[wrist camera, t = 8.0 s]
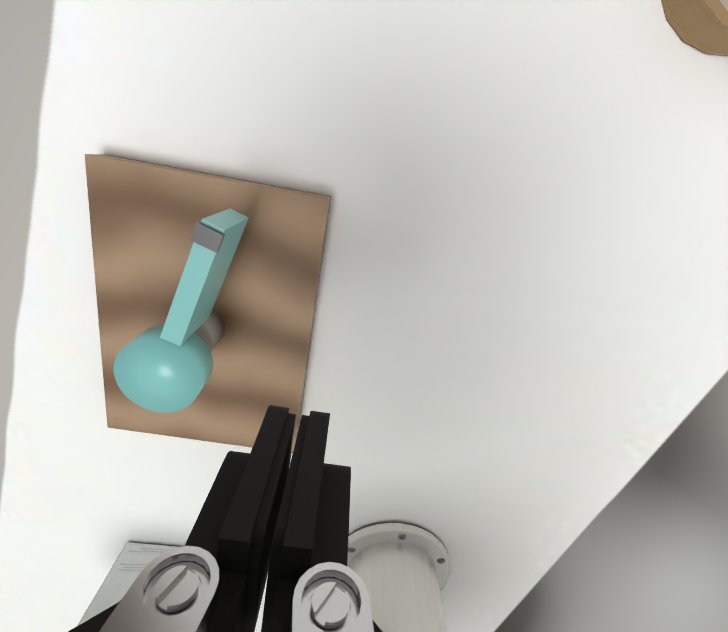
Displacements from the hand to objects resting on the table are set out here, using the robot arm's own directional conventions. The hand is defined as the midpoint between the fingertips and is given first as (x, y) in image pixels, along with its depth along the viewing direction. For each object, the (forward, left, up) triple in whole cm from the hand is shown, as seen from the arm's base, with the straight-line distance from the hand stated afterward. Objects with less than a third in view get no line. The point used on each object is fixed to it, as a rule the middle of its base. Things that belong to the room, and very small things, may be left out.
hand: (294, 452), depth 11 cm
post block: (-6, +9, -21) cm, 24 cm away
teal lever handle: (-3, +8, -16) cm, 18 cm away
